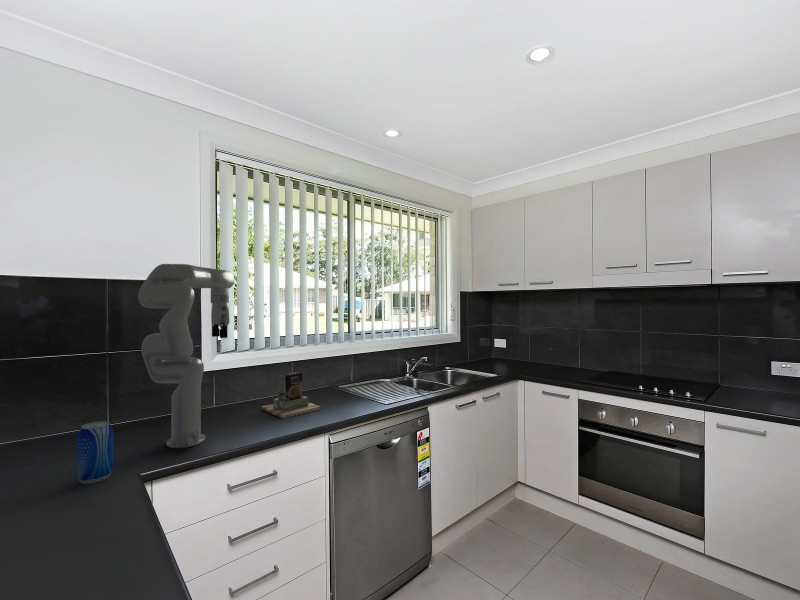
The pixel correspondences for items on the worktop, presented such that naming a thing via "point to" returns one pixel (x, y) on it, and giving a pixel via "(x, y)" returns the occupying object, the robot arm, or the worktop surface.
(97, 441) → the beer can
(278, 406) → the collar board
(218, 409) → the worktop surface
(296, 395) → the coffee box
